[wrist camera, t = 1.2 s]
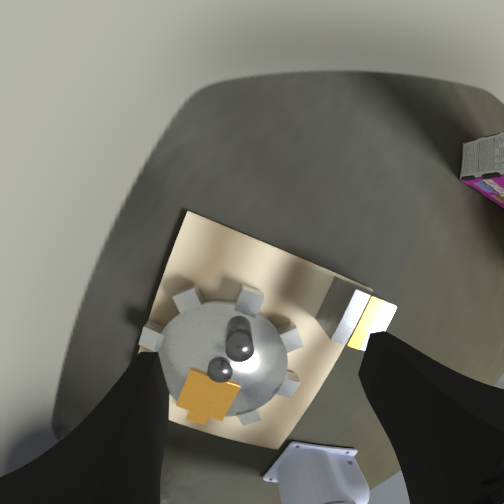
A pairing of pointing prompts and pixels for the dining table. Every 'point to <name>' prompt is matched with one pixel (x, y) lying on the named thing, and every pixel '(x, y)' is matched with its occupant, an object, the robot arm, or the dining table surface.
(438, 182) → the dining table surface
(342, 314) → the link block
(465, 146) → the candy bar box
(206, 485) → the dining table surface
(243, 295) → the sprocket
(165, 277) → the base board
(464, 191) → the dining table surface
